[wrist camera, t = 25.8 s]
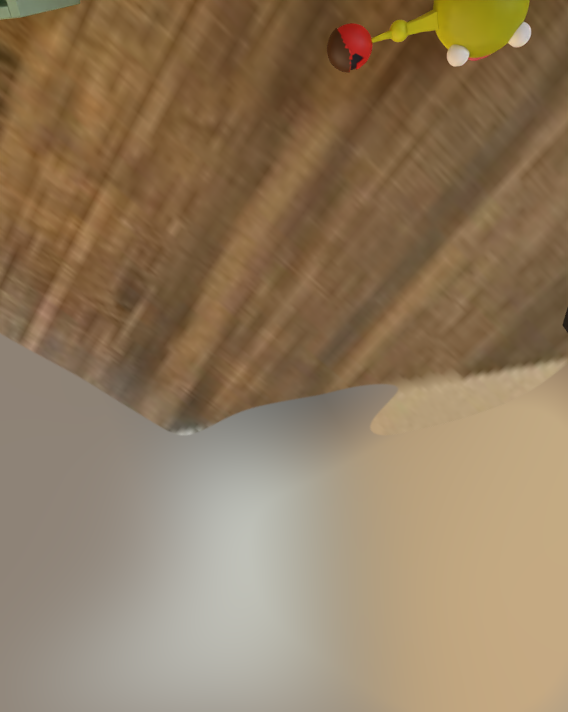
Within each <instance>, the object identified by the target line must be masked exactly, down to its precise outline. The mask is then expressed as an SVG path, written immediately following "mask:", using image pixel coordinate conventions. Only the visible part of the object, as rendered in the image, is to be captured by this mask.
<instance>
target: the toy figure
mask: <svg viewBox="0 0 568 712" xmlns="http://www.w3.org/2000/svg"><path fill="white" fill-rule="evenodd" d="M529 2H530V0H434V4H433V10H431V11H429V12H427V13H425V14H424V15H422V16H420V17H418V18H416V19H413V20H410V21H408V22H405V21H404V20H396V21H395V22H393V23H392V25H391V27H390V30H389V31H387V32H385V33H382V34H380V35H378V36H375V37H373V38H371V36H370V34H369V32H368V31H367V30H366V29H365V28H364V27H363V26H361V25H359V24H354V23H350V24H345V25H343V26H341V27H339V28H338V29H337V28H336V29H335V30H334V31H333V33H332V34H331V36H330V38H329V41H328V45H327V53H328V58H329V60H330V62H331V64H332V65H333V66H334V67H335V68H336V69H338V70H340V71H342V72H347V73H349V72H350V70H353V69H358V68H360V67H362V66H363V65H364V64H365V63H366V62H367V60H368V59H369V57H370V54H371V51H372V43H374V42H378V41H382V40H385V39H390V38H391V39H392V40H393V41H395V42H401V41H403V40H405V39H406V37H407V36H408V35H411V34H416V33H419V32H425V31H433V30H435V31H436V34H437V36H438V38H439V39H440V41H441V42H442V43H443V45H444V46H445V47H446V48H447V49H448V52H447V60H448V62H449V63H450V64H451V65H452V66H456V67H458V66H461V65H463V64H464V63H465V62H466V61H467V60H468V59H469V60H472V61H476V60H479V59H481V58H486V57H488V56H489V55H490V54H492V53H494V52H496V51H497V50H499V49H501V48H502V47H503V46H505V45H506V44H507V43H509V44H510V45H511V46H513V47H521V46H523V45H524V44H526V43H527V42H528V40H529V39H530V36H531V28H530V26H529V25H528V24H527V23H526V22H524V19H525V17H526V14H527V11H528V7H529Z"/></svg>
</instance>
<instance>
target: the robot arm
mask: <svg viewBox="0 0 568 712" xmlns="http://www.w3.org/2000/svg"><path fill="white" fill-rule="evenodd" d="M563 327H564V328H565V329H566V331H567V332H568V308H567V312H566V315H565V319H564V322H563Z"/></svg>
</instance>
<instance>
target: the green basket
mask: <svg viewBox="0 0 568 712" xmlns="http://www.w3.org/2000/svg"><path fill="white" fill-rule="evenodd" d="M76 4H80V0H0V19H10V18H20V17H25V16H29V15H34V14H38V13H42V12H46V11H51V10H55V9H59V8H64V7H68V6H72V5H76Z"/></svg>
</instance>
